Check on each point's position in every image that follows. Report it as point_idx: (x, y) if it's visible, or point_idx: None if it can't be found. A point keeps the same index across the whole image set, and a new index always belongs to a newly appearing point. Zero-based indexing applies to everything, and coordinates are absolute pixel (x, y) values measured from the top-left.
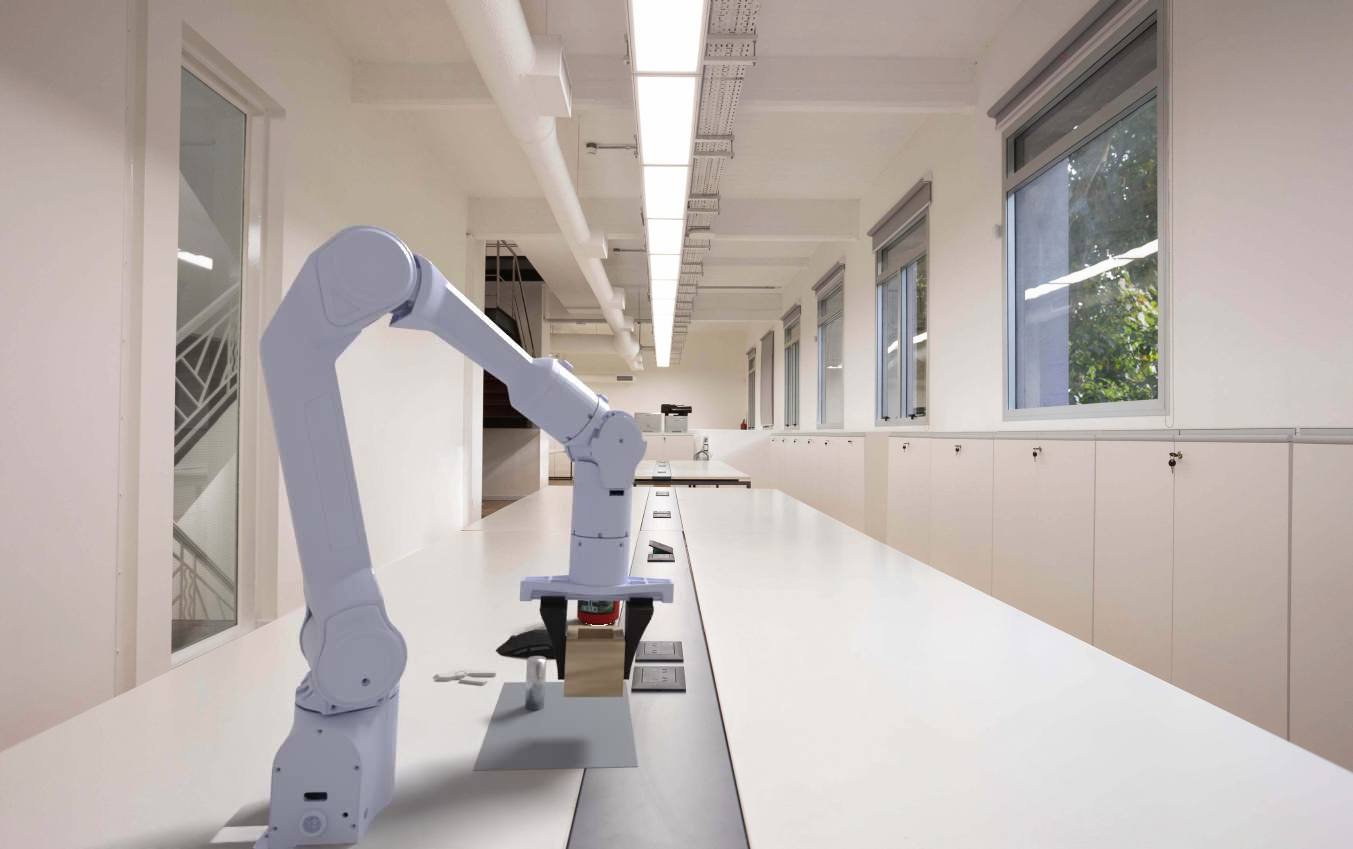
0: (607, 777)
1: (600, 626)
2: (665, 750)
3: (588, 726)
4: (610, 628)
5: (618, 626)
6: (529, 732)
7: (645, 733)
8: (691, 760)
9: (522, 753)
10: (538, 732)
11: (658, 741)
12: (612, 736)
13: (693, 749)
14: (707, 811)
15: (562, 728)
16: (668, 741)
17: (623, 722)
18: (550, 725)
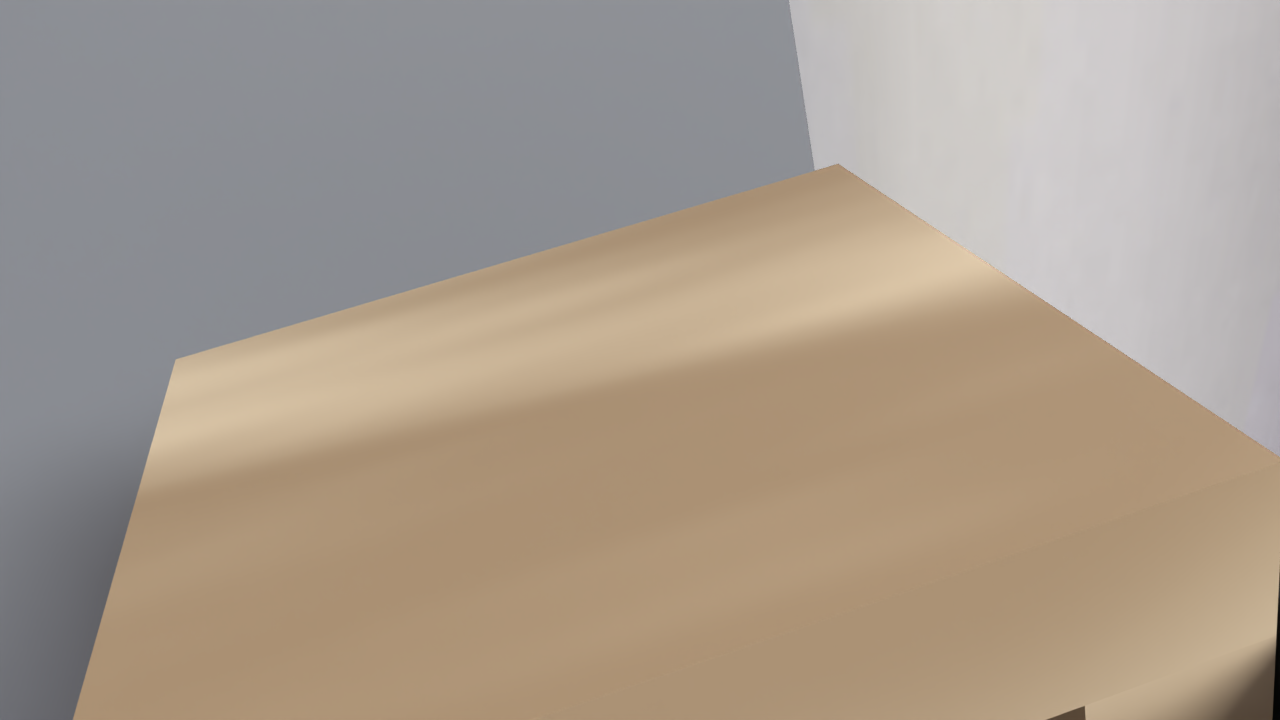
0: None
1: (820, 681)
2: (1009, 248)
3: (452, 172)
4: (1037, 711)
5: (1199, 534)
6: (6, 394)
7: (875, 25)
8: (1147, 328)
9: None
10: (84, 381)
11: (968, 134)
12: None
13: (1177, 191)
14: None
15: (249, 263)
16: (1033, 117)
17: (723, 29)
18: (118, 231)
